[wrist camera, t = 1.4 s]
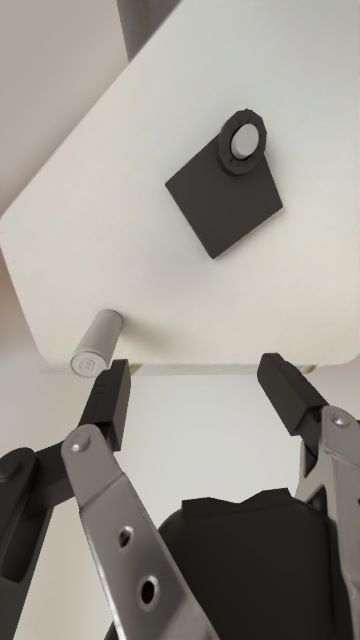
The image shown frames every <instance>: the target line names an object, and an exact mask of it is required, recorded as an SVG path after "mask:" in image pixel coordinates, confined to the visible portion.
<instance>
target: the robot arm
mask: <svg viewBox="0 0 360 640" xmlns="http://www.w3.org/2000/svg"><path fill="white" fill-rule="evenodd" d="M257 378H258V381H259V383H260V385H261V387H262V388H263V390H264V392H265V393H266V395H267V397H268V398H269V400H270V402H271V403H272V405H273V407H274V408H275V410H276V412H277V413H278V415H279V417H280V419H281V420H282V422H283V424H284V425H285V427H286V429H287V430H288V432H289V434H290V435H291V436H296V435H300V436H301V438H302V439H303V440H302V442H301V452H300V477H299V484H298V488H297V490H296V494H295V498H294V497H292V496H291V494H290V492H289V490H288V488H281V489H272V490H264V491H261V492H260V493H257V494H256V495H254V496H252V497H250V498H249V499H247V500H245V501H243V502H241V503H233V502H228V501H224V500H219V499H215V498H210V497H207V498H198V499H190V500H183V501H182V506H181V509H179V510H177V511H176V512H174V513H173V514H172V515H170V516H169V517H168V518H167V519H166V520H165V521H164V522H163V523H162V525H161V526H160V527H159V529H158V530H157V529H156V527H155V525H154V523H153V522H152V520H151V518H150V516H149V514H148V513H147V511H146V509H145V507H144V506H143V504H142V502H141V500H140V498H139V496H138V495H137V493H136V491H135V489H134V487H133V486H132V484H131V482H130V480H129V478H128V477H127V475H126V474H125V473H124V472H123V471H122V470H121V468H120V467H119V464H118V462H117V461H116V459H115V457H114V455H113V452H115V451H120V450H121V444H122V438H123V432H124V426H125V419H126V413H127V407H128V401H129V395H130V388H131V377H130V371H129V364H128V359H118V360H113V362H112V365H111V368H110V369H108V370H103V371H102V372H101V373H100V374H99V375H98V376H97V377H96V380H95V383H94V385H93V388H92V390H91V394H90V396H89V399H88V401H87V404H86V406H85V409H84V412H83V414H82V417H81V419H80V422H79V424H78V426H77V428H76V429H74V430H73V431H72V432H71V433H70V434H69V435H68V436H67V437H66V438H65V440H63V441H62V442H60V443H58V444H55V445H53V446H51V447H48V448H45V449H43V450H40V451H37V452H34V451H33V450H32V449H30V448H25V447H24V448H18V449H16V450H13V451H11V452H9V453H7V454H6V455H4V456H3V457H2V458H1V459H0V640H13V638H14V634H15V632H16V628H17V625H18V622H19V619H20V616H21V612H22V609H23V606H24V603H25V599H26V596H27V593H28V590H29V587H30V583H31V580H32V577H33V574H34V571H35V567H36V564H37V561H38V558H39V554H40V551H41V548H42V545H43V542H44V538H45V535H46V532H47V529H48V525H49V522H50V519H51V516H52V513H53V509H54V506H56V505H58V504H60V503H62V502H64V501H66V500H68V499H70V498H72V497H74V496H75V497H76V500H77V503H78V506H79V514H80V519H81V523H82V525H83V529H84V532H85V535H86V538H87V541H88V544H89V547H90V550H91V554H92V556H93V559H94V563H95V566H96V569H97V572H98V575H99V578H100V581H101V584H102V587H103V590H104V593H105V597H106V600H107V602H108V606H109V609H110V612H111V615H112V618H113V622H112V624H111V626H110V628H109V630H108V632H107V634H106V636H105V639H104V640H360V420H356V419H355V418H354V417H353V416H352V415H350V414H349V413H348V412H346V411H344V410H343V409H341V408H338V407H335V406H330V405H329V404H328V402H327V401H326V400H325V399H324V398H323V397H322V396H321V395H320V393H318V391H317V390H316V389H315V388H314V387H313V386H312V385H311V383H310V382H308V380H307V379H306V378H305V377H304V376H303V375H302V373H301V372H300V371H299V370H298V369H297V368H296V367H295V366H294V365H292V364H291V363H289V362H288V361H285V360H284V359H283V358H282V357H281V355H280V354H278V353H264V354H263V355H262V358H261V361H260V365H259V368H258V371H257Z"/></svg>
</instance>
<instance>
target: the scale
mask: <svg viewBox="0 0 360 640" xmlns="http://www.w3.org/2000/svg"><path fill="white" fill-rule="evenodd" d="M246 124H251V125H253V126H255V127H256V129H257V131H258V135H259V140H258V144H257V147H256V149H255V150H254V151H253V153H251V154H250V155H248V156H247V157H245V158H243V159H238V158H236V157H235V156H234V155H233V153H232V150H231V143H232V139H233V137H234V135H235V134H236V133H237V132H238V131H239V130H240V128H241V127H243V126H244V125H246ZM266 135H267V132H266V129H265V126H264V123H263V120H262V118H261V117H260V116H259V115H257V114H256V113H255V112H253V111H252V110H248V109H247V108H246V109H245V110H242V111H237V112H236V113H235V114H234V115H233V116H232V117H231V118H230V119H229V120H228V121H226V123H225V124H224V126H223V127H222V129H221V132H220V133H219V134H218V135H217V136H216V137H215V138H214V139H213V140H212V141H211V142H209V143H208V144H207V145H206V146H205V147H204V148H203V149H202V150H201V151H200V152H199V153H198V154H196V155H195V156H194V157H193V158H192V159H191V160H190V161H189V162H188V163H187V164H186V165H185V166H183V167H182V168H181V169H180V170H179V171H178V172H177V173H176V174H175V175H174V176H173V177H172V178H170V179H169V180H168V181H167V182H166V183H165V186H166V188H167V189H168V191H169V192H170V194H171V195H172V197H173V199H174V200H175V202H176V203H177V205H178V207H179V208H180V210H181V211H182V213H183V215H184V216H185V218H186V219H187V221H188V222H189V224H190V226H191V227H192V229H193V230H194V232H195V234H196V235H197V237H198V238H199V240H200V241H201V243H202V245H203V246H204V248H205V249H206V251H207V253H208V254H209V256H210V257H211V258H212V259H214V258H215V257H217V256H218V255H219V254H221V253H222V252H223V251H225V250H226V249H227V248H229V247H230V246H231V245H233V244H234V243H235V242H237V241H238V240H239V239H241V238H242V237H243V236H245V235H246V234H247V233H249V232H250V231H251V230H253V229H254V228H255V227H257V226H258V225H259V224H261V223H262V222H263V221H265V220H266V219H267V218H269V217H270V216H271V215H273V214H274V213H275V212H277V211H278V210H279V209H281V208H282V207H283V205H282V202H281V199H280V197H279V194H278V191H277V189H276V186H275V183H274V180H273V178H272V175H271V172H270V169H269V167H268V164H267V161H266V158H265V156H264V151H265V146H266Z"/></svg>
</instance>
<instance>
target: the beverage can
mask: <svg viewBox="0 0 360 640" xmlns="http://www.w3.org/2000/svg"><path fill="white" fill-rule="evenodd" d="M121 328H122V319H121V317H120V315H118V314H117V313H116V312H114V311H109V310H106V311H103V312H100V313H99V314H98V315H97V316H96V318H95V319H94V321H93V322H92V324H91V326H90V327H89V329H88V330H87V332H86V333H85V335H84V337H83V338H82V340H81V341H80V343H79V345H78V346H77V348H76V349H75V351H74V353H73V354H72V356H71V360H70V363H69V365H70V368H71V370H72V371H73V372H74V373H75V374H76V375H78V376H80V377H82V378H87V379H94V378H96V377H97V376H98V375H99V374H100V373H101V372H102V371H103V370H107V369H108V367H109V364H110V361H111V358H112V355H113V352H114V349H115V346H116V343H117V340H118V337H119V334H120V331H121Z"/></svg>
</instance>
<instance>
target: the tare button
mask: <svg viewBox="0 0 360 640" xmlns="http://www.w3.org/2000/svg"><path fill="white" fill-rule="evenodd" d="M258 140H259V135H258V131H257V129H256V127H255V126H253V125H251V124H246V125H244V126H243V127H241V128H240V130H239V131H238V132H237V133H236V134H235V135H234V137H233V139H232V143H231V150H232V153H233V155H234V156H235V157H236V158H238V159H243V158H245V157H247V156H248V155H250V154H251V153H253V151H254V150H255V149H256V147H257V144H258Z"/></svg>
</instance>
